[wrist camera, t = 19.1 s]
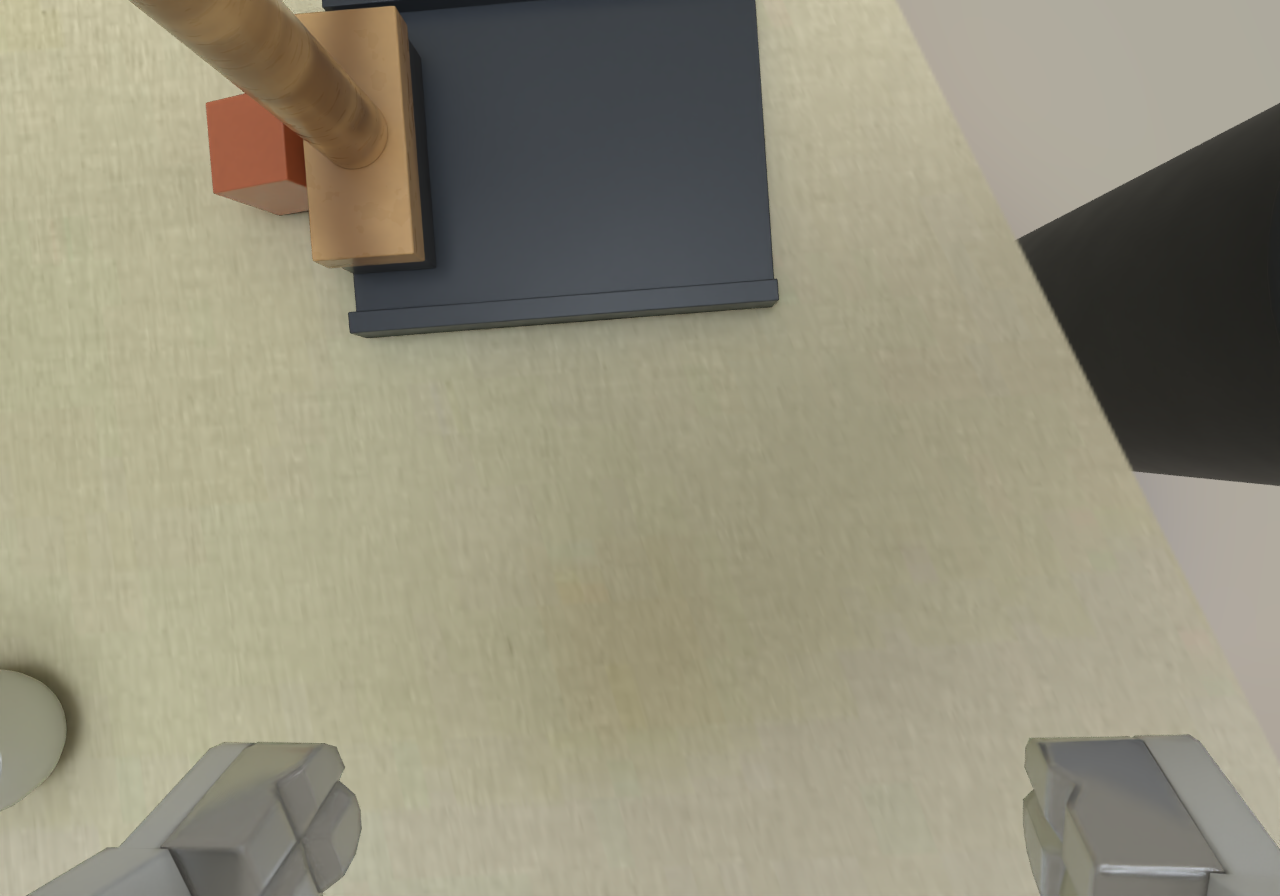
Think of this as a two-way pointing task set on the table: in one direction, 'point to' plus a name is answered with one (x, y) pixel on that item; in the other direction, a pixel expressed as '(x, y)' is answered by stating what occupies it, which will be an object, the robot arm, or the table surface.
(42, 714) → the plastic bottle
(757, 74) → the tray
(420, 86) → the brush
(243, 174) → the block
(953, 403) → the table surface
